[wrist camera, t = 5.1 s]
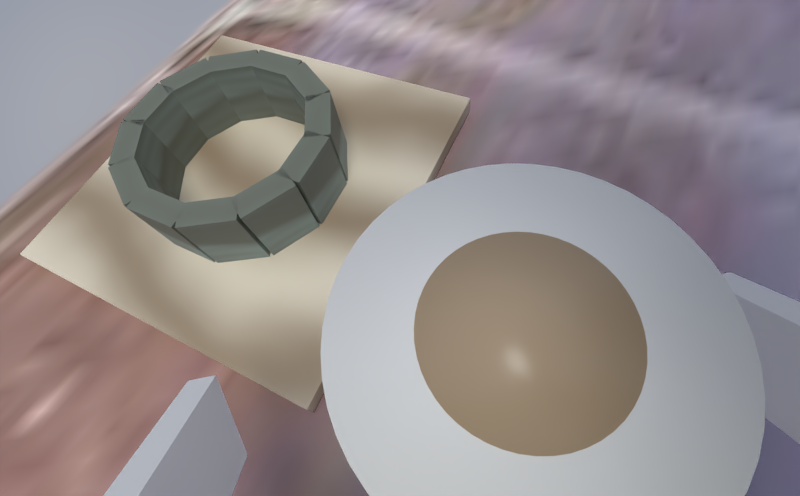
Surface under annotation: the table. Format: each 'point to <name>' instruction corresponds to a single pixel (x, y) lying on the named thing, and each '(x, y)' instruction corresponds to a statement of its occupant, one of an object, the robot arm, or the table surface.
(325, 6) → the table surface
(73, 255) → the roll holder
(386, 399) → the paper roll
